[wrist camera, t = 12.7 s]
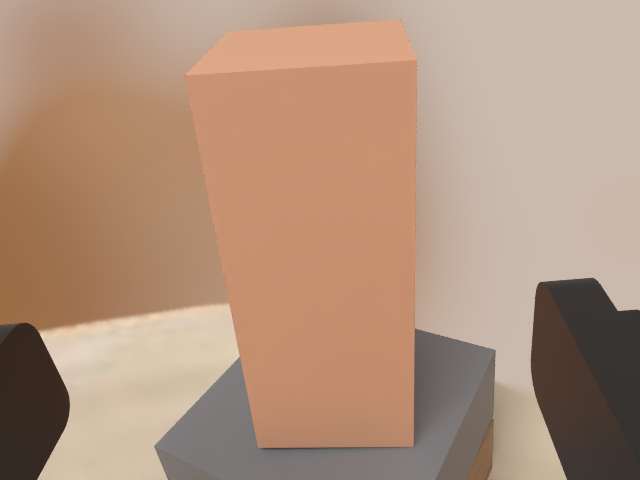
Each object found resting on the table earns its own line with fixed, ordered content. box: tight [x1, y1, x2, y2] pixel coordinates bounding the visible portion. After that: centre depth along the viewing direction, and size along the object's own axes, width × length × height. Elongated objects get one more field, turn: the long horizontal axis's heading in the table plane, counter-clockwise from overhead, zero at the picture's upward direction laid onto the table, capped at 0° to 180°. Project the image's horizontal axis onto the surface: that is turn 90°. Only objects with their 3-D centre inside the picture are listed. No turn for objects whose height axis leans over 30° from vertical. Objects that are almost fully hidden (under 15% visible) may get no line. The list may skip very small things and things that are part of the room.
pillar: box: [185, 19, 417, 448], centre depth 17 cm, size 5×5×12 cm
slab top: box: [154, 329, 495, 480], centre depth 21 cm, size 9×9×4 cm
